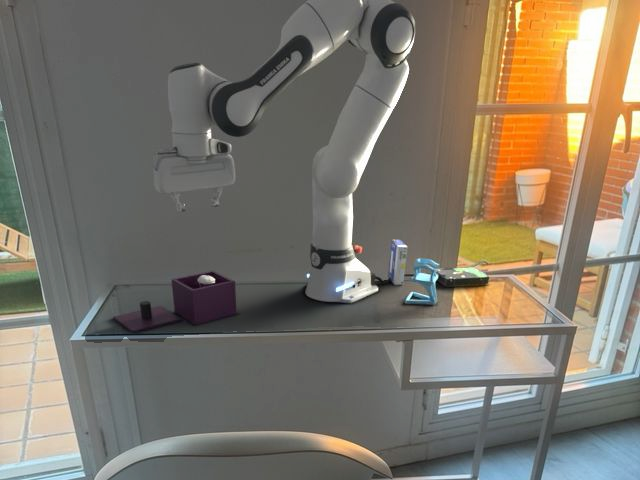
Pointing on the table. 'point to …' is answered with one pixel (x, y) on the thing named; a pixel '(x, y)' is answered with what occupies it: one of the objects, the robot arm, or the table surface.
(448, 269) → the disk drive
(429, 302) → the chair
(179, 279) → the box
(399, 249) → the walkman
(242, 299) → the table surface
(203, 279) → the milkshake
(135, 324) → the lid
